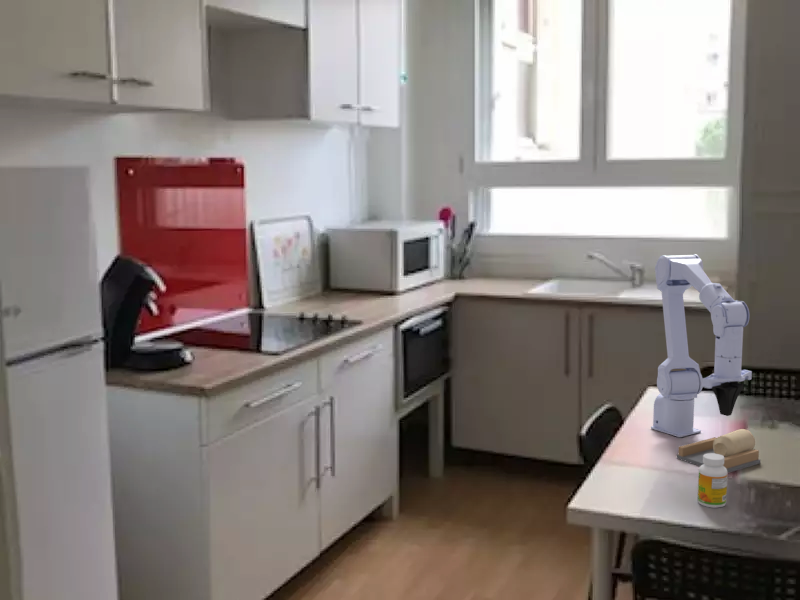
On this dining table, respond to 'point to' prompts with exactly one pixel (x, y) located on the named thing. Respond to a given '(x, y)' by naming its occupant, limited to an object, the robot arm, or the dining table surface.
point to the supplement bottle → (712, 481)
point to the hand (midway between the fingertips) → (725, 414)
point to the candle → (734, 443)
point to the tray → (700, 448)
